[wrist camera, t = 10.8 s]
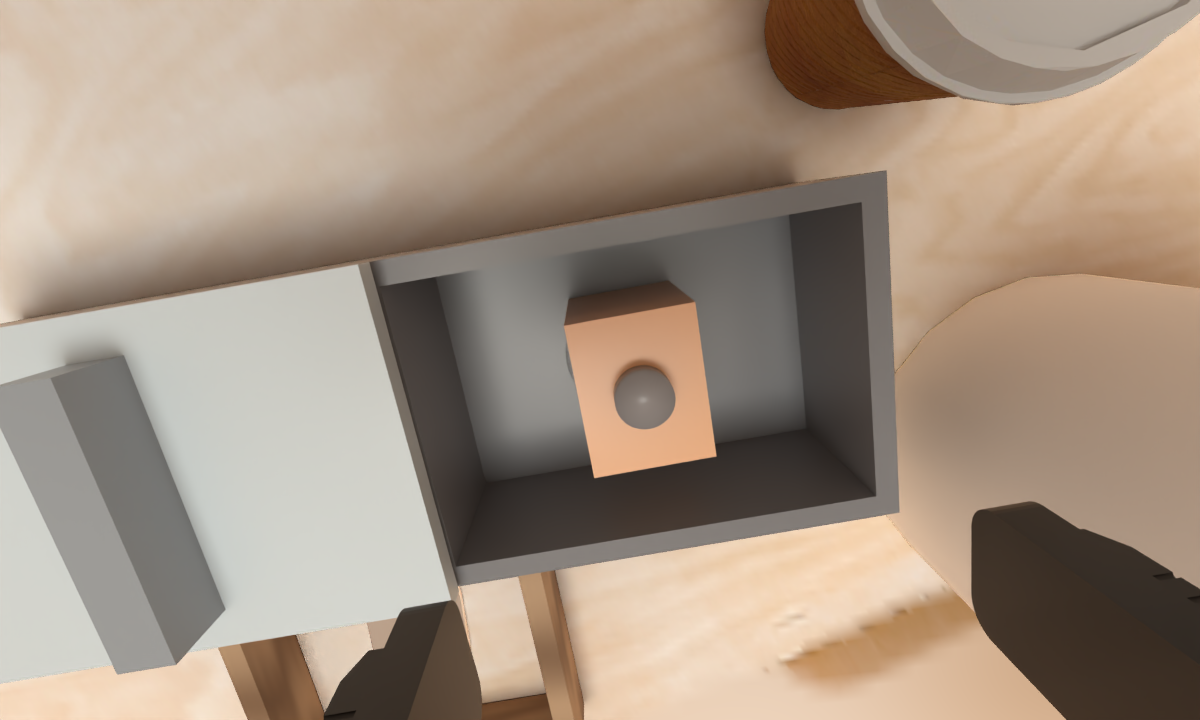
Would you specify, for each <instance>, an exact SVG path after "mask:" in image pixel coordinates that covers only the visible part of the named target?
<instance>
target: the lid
mask: <svg viewBox="0 0 1200 720" xmlns="http://www.w3.org/2000/svg"><path fill="white" fill-rule="evenodd" d="M458 593H459V589H458V586H457V582H456V578H455V575H454V571H453V567H452V564H451V560H450V556H449V553H448V549H447V545H446V542H445V538H444V534H443V531H442V527H441V523H440V520H439V516H438V512H437V509H436V505H435V501H434V498H433V494H432V490H431V487H430V483H429V479H428V476H427V472H426V468H425V465H424V461H423V457H422V454H421V450H420V446H419V443H418V439H417V435H416V432H415V428H414V424H413V421H412V417H411V414H410V410H409V406H408V403H407V399H406V395H405V392H404V388H403V384H402V381H401V377H400V373H399V370H398V366H397V362H396V359H395V355H394V351H393V348H392V344H391V340H390V337H389V333H388V329H387V326H386V322H385V318H384V315H383V311H382V307H381V304H380V300H379V296H378V293H377V289H376V285H375V282H374V278H373V274H372V271H371V267H370V263H369V262H366V263H361V264H355V265H349V266H344V267H338V268H332V269H327V270H321V271H315V272H310V273H304V274H298V275H293V276H287V277H281V278H276V279H270V280H264V281H259V282H253V283H247V284H242V285H236V286H230V287H225V288H219V289H213V290H208V291H202V292H196V293H191V294H185V295H179V296H174V297H168V298H162V299H157V300H151V301H145V302H140V303H134V304H128V305H123V306H117V307H111V308H106V309H100V310H94V311H89V312H83V313H77V314H72V315H66V316H60V317H55V318H49V319H43V320H38V321H32V322H26V323H21V324H15V325H9V326H4V327H0V684H2V683H8V682H14V681H20V680H26V679H32V678H38V677H44V676H50V675H56V674H62V673H68V672H74V671H80V670H86V669H92V668H98V667H104V666H110V665H113V667H114V669H115V671H116V673H117V674H123V673H129V672H135V671H141V670H147V669H153V668H159V667H165V666H171V665H176V664H177V663H178V662H179V661H180V660H181V659H182V658H183V657H184V655H185V654H186V653H188V652H194V651H200V650H206V649H212V648H218V647H224V646H230V645H236V644H242V643H248V642H254V641H260V640H266V639H272V638H278V637H284V636H290V635H296V634H302V633H308V632H314V631H320V630H326V629H332V628H338V627H344V626H350V625H356V624H362V623H368V622H374V621H380V620H386V619H392V618H397V617H398V615H399V613H400V612H401V611H402V610H403V609H404V608H409V607H414V606H420V605H426V604H432V603H437V602H443V601H449V600H453V601H454V602H456V599H457V596H458Z"/></svg>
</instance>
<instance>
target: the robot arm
mask: <svg viewBox="0 0 1200 720" xmlns="http://www.w3.org/2000/svg"><path fill="white" fill-rule="evenodd" d="M971 597H972V603H973V607H974V610H975V613H976V616H977V618H978V620H979V622H980V624H981V626H982V628H983V630H984V631H985V633H986V634H987V636H988V637H989V638H990V639H991V641H992V642H993V643H994V644H995V645H996V646H997V647H998V648H999V649H1000V650H1001V651H1002V652H1003V653H1004V654H1005V656H1006V657H1007V658H1008V659H1009V660H1010V661H1011V662H1012V663H1013V664H1014V665H1015V666H1016V667H1017V668H1018V669H1019V670H1020V671H1021V672H1022V673H1023V674H1024V675H1025V677H1026V678H1027V679H1028V680H1029V681H1030V682H1031V683H1032V684H1033V685H1034V686H1035V687H1036V688H1037V689H1038V690H1039V691H1040V692H1041V693H1042V694H1043V695H1044V697H1045V698H1046V699H1047V700H1048V701H1049V702H1050V703H1051V704H1052V705H1053V706H1054V707H1055V708H1056V709H1057V710H1058V711H1059V712H1060V713H1061V714H1062V715H1063V717H1064V718H1066V720H1200V589H1199V588H1198V587H1196V586H1195V585H1193V584H1191V583H1190V582H1188V581H1186V580H1185V579H1183V578H1182V577H1180V578H1176V577H1175V576H1174V575H1173V572H1172V571H1170V570H1169V569H1167V568H1165V567H1164V566H1162V565H1160V564H1159V563H1157V562H1155V561H1154V560H1152V559H1151V558H1149V557H1147V556H1146V555H1144V554H1142V553H1141V552H1139V551H1138V550H1136V549H1134V548H1133V547H1131V546H1128V545H1125V544H1123V543H1120V542H1118V541H1115V540H1112V539H1110V538H1107V537H1104V536H1102V535H1099V534H1097V533H1094V532H1091V531H1089V530H1086V529H1079V528H1077V527H1076V526H1074V525H1072V524H1071V523H1069V522H1068V521H1066V520H1065V519H1063V518H1062V517H1060V516H1058V515H1057V514H1055V513H1054V512H1052V511H1051V510H1049V509H1048V508H1046V507H1044V506H1043V505H1041V504H1039V503H1036V502H1033V501H1027V502H1021V503H1016V504H1010V505H1004V506H998V507H993V508H987V509H981V510H978V511H976V513H975V514H974V516H973V518H972V524H971ZM323 717H324V720H481V718H482V697H481V687H480V681H479V677H478V674H477V670H476V667H475V663H474V660H473V656H472V652H471V649H470V645H469V642H468V638H467V635H466V631H465V628H464V624H463V621H462V617H461V614H460V611H459V608H458V606H457V604H456V603H455V602H454V601H453V600H449V601H443V602H437V603H432V604H426V605H420V606H414V607H409V608H404V609H403V610H402V611H401V612H400V613H399V615H398V617H397V620H396V622H395V624H394V626H393V629H392V631H391V633H390V635H389V638H388V640H387V642H386V644H385V647H384V648H381V649H376V650H370V651H368V652H367V653H366V654H365V655H364V656H363V657H362V659H361V660H360V661H359V662H358V663H357V664H356V665H355V666H354V667H353V668H352V670H351V671H350V672H349V673H348V674H347V675H346V676H345V677H344V678H343V679H342V681H341V682H340V684H339V686H338V688H337V690H336V692H335V694H334V696H333V698H332V700H331V702H330V704H329V706H328V708H327V710H326V712H325V714H324V716H323Z"/></svg>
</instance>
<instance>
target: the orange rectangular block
mask: <svg viewBox="0 0 1200 720" xmlns="http://www.w3.org/2000/svg"><path fill="white" fill-rule="evenodd" d="M564 329H565V334H566V339H567V344H568V349H569V354H570V359H571V364H572V369H573V374H574V379H575V384H576V389H577V394H578V399H579V404H580V409H581V414H582V419H583V424H584V429H585V434H586V439H587V444H588V449H589V454H590V459H591V464H592V469H593V474H594V478H598V477H603V476H609V475H615V474H620V473H626V472H631V471H637V470H643V469H648V468H654V467H660V466H665V465H671V464H676V463H682V462H688V461H693V460H699V459H705V458H710V457H716V449H715V442H714V434H713V427H712V420H711V413H710V405H709V398H708V391H707V384H706V376H705V369H704V362H703V355H702V347H701V340H700V333H699V325H698V318H697V311H696V304H695V301H694V300H692V299H691V298H690V297H689V296H687V295H686V294H685V293H684V292H682V291H681V290H680V289H679V288H677V287H676V286H675V285H674V284H672V283H671V282H670V281H664V282H658V283H653V284H647V285H642V286H636V287H631V288H625V289H620V290H614V291H609V292H604V293H598V294H593V295H587V296H582V297H576V298H571V299H568V305H567V310H566V316H565V322H564Z"/></svg>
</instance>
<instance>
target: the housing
mask: <svg viewBox="0 0 1200 720" xmlns="http://www.w3.org/2000/svg"><path fill="white" fill-rule="evenodd" d="M366 262H369V263H370V267H371V271H372V274H373V278H374V282H375V285H376V289H377V293H378V296H379V300H380V304H381V307H382V311H383V315H384V318H385V322H386V326H387V329H388V333H389V337H390V340H391V344H392V348H393V351H394V355H395V359H396V362H397V366H398V370H399V373H400V377H401V381H402V384H403V388H404V392H405V395H406V399H407V403H408V406H409V410H410V414H411V417H412V421H413V424H414V428H415V432H416V435H417V439H418V443H419V446H420V450H421V454H422V457H423V461H424V465H425V468H426V472H427V476H428V479H429V483H430V487H431V490H432V494H433V498H434V501H435V505H436V509H437V512H438V516H439V520H440V523H441V527H442V531H443V534H444V538H445V542H446V545H447V549H448V553H449V556H450V560H451V564H452V567H453V571H454V575H455V578H456V582H457V586H463V585H469V584H475V583H481V582H487V581H493V580H499V579H505V578H511V577H517V576H523V575H529V574H535V573H541V572H547V571H553V570H559V569H565V568H571V567H577V566H583V565H589V564H595V563H601V562H607V561H613V560H619V559H625V558H631V557H637V556H643V555H649V554H655V553H661V552H667V551H673V550H679V549H685V548H691V547H697V546H703V545H709V544H715V543H721V542H727V541H733V540H739V539H745V538H751V537H757V536H763V535H769V534H775V533H781V532H787V531H793V530H798V529H804V528H810V527H816V526H822V525H828V524H834V523H840V522H846V521H852V520H858V519H864V518H870V517H876V516H882V515H888V514H894V513H900V508H899V482H898V456H897V430H896V404H895V378H894V353H893V327H892V301H891V275H890V249H889V223H888V197H887V172H886V171H879V172H871V173H864V174H857V175H850V176H842V177H835V178H828V179H821V180H813V181H806V182H799V183H793V184H787V185H781V186H776V187H770V188H764V189H759V190H753V191H747V192H742V193H736V194H731V195H725V196H719V197H714V198H708V199H702V200H697V201H691V202H685V203H680V204H674V205H668V206H663V207H657V208H651V209H646V210H640V211H634V212H629V213H623V214H617V215H612V216H606V217H600V218H595V219H589V220H583V221H578V222H572V223H566V224H561V225H555V226H549V227H544V228H538V229H532V230H527V231H521V232H515V233H510V234H504V235H498V236H493V237H487V238H482V239H476V240H470V241H465V242H459V243H453V244H448V245H442V246H436V247H431V248H425V249H419V250H414V251H408V252H402V253H397V254H391V255H385V256H380V257H374V258H368V259H363V260H357V261H351V262H346V263H340V264H334V265H329V266H323V267H317V268H312V269H306V270H300V271H295V272H289V273H283V274H278V275H272V276H266V277H261V278H255V279H249V280H244V281H238V282H233V283H227V284H221V285H216V286H210V287H204V288H199V289H193V290H187V291H182V292H176V293H170V294H165V295H159V296H153V297H148V298H142V299H136V300H131V301H125V302H119V303H114V304H108V305H102V306H97V307H91V308H85V309H80V310H74V311H68V312H63V313H57V314H51V315H46V316H40V317H34V318H29V319H23V320H18V321H13V322H7V323H2V324H0V327H4V326H9V325H15V324H21V323H26V322H32V321H38V320H43V319H49V318H55V317H60V316H66V315H72V314H77V313H83V312H89V311H94V310H100V309H106V308H111V307H117V306H123V305H128V304H134V303H140V302H145V301H151V300H157V299H162V298H168V297H174V296H179V295H185V294H191V293H196V292H202V291H208V290H213V289H219V288H225V287H230V286H236V285H242V284H247V283H253V282H259V281H264V280H270V279H276V278H281V277H287V276H293V275H298V274H304V273H310V272H315V271H321V270H327V269H332V268H338V267H344V266H349V265H355V264H361V263H366ZM664 281H670V282H671V283H672V284H674V285H675V286H676V287H677V288H679V289H680V290H681V291H682V292H684V293H685V294H686V295H687V296H689V297H690V298H691V299H692V300H694V301H695V304H696V311H697V318H698V325H699V333H700V340H701V347H702V355H703V362H704V369H705V376H706V384H707V391H708V398H709V405H710V413H711V420H712V427H713V434H714V442H715V449H716V457H710V458H705V459H699V460H693V461H688V462H682V463H676V464H671V465H665V466H660V467H654V468H648V469H643V470H637V471H631V472H626V473H620V474H615V475H609V476H603V477H598V478H594V474H593V469H592V464H591V459H590V454H589V449H588V444H587V439H586V434H585V429H584V424H583V419H582V414H581V409H580V404H579V399H578V394H577V389H576V384H575V379H574V374H573V369H572V364H571V359H570V354H569V349H568V344H567V339H566V334H565V329H564V322H565V316H566V310H567V305H568V299H571V298H576V297H582V296H587V295H593V294H598V293H604V292H609V291H614V290H620V289H625V288H631V287H636V286H642V285H647V284H653V283H658V282H664Z"/></svg>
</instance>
